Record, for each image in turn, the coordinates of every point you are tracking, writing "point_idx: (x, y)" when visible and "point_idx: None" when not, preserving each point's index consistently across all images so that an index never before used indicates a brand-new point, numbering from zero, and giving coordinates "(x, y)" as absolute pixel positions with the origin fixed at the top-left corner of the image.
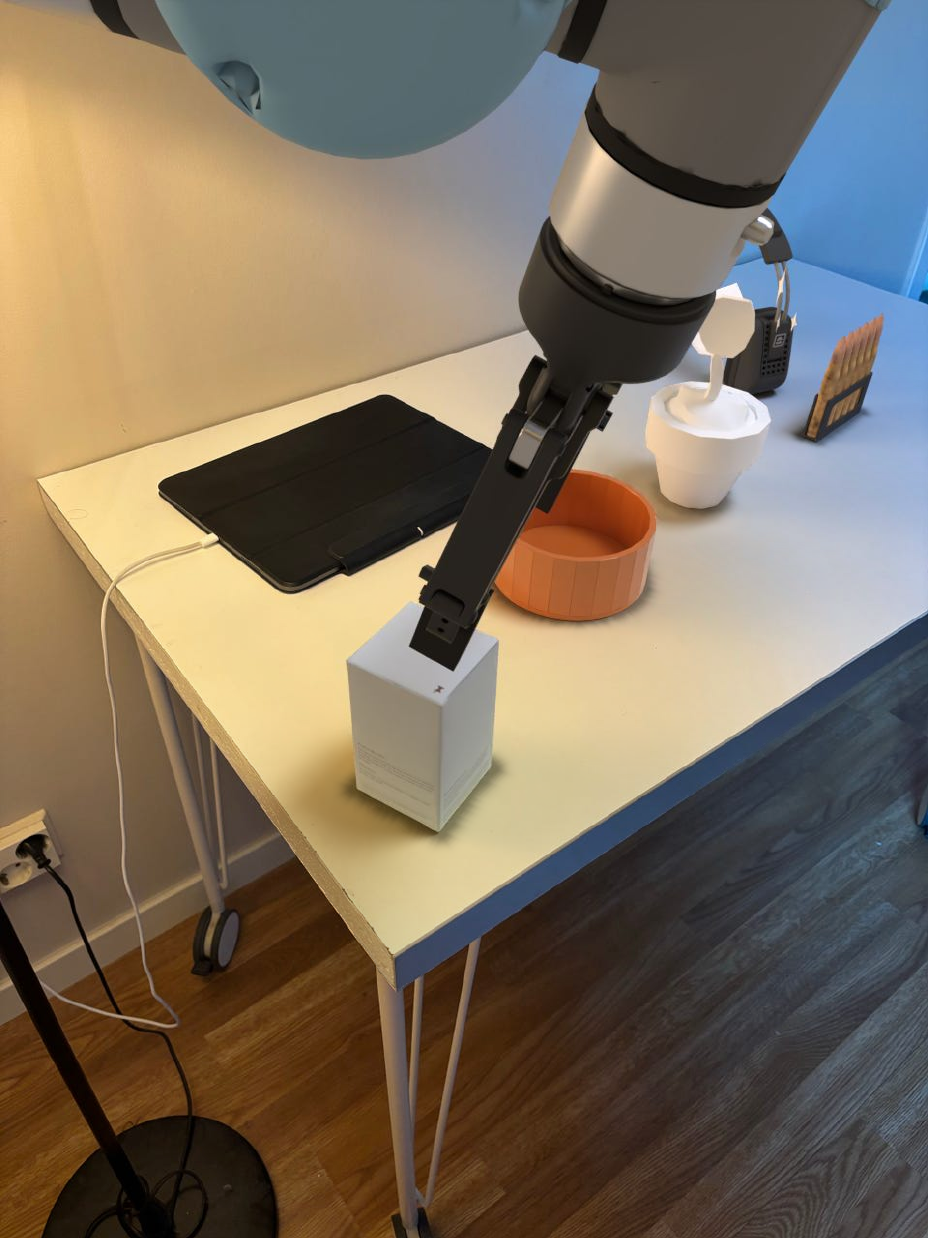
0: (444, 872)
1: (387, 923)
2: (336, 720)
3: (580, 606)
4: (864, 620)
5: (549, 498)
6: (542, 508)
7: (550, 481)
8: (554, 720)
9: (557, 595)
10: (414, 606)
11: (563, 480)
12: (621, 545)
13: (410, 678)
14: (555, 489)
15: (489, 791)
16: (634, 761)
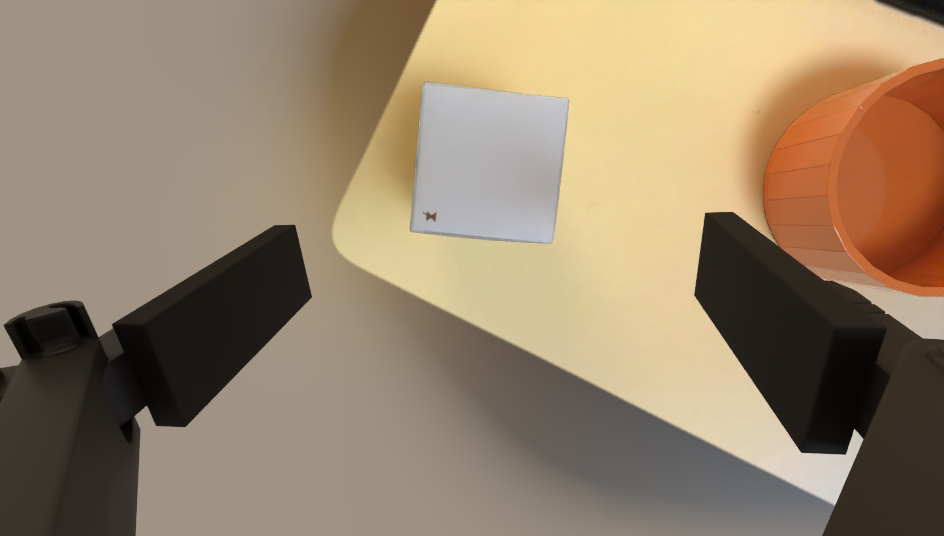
0: (402, 251)
1: (337, 232)
2: (511, 68)
3: (786, 235)
4: None
5: (708, 304)
6: (697, 285)
7: (727, 312)
8: (612, 268)
9: (786, 207)
10: (560, 109)
11: (731, 345)
12: (937, 232)
13: (431, 175)
14: (718, 321)
15: (499, 248)
16: (596, 355)
